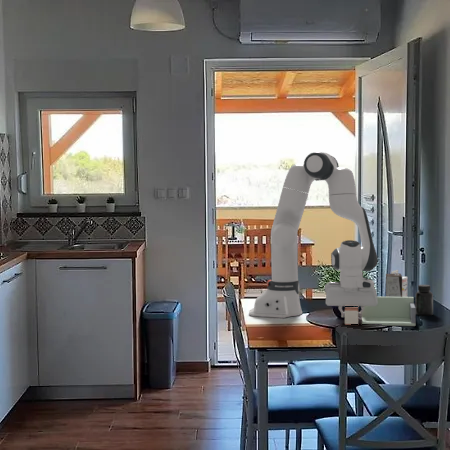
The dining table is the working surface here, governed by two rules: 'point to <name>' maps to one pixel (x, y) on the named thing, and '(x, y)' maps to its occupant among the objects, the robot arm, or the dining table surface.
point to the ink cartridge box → (403, 284)
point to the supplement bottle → (424, 301)
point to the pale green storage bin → (391, 312)
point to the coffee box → (394, 285)
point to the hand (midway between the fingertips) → (351, 317)
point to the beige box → (351, 315)
